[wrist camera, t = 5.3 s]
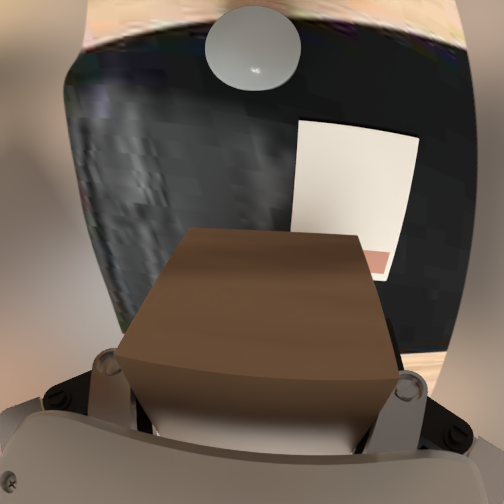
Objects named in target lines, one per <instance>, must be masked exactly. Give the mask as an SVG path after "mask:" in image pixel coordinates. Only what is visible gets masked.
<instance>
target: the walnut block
mask: <svg viewBox="0 0 504 504" xmlns="http://www.w3.org/2000/svg"><path fill="white" fill-rule="evenodd" d="M114 356H115V358H116V360H117V362H118V364H119V366H120V368H121V370H122V372H123V374H124V376H125V377H126V379H127V381H128V383H129V385H130V387H131V388H132V390H133V392H134V394H135V396H136V397H137V399H138V401H139V402H140V404H141V406H142V408H143V409H144V411H145V413H146V414H147V416H148V417H149V419H150V421H151V422H152V424H153V425H154V427H155V429H156V430H157V431H158V433H159V435H160V436H161V437H164V438H169V439H173V440H178V441H183V442H188V443H193V444H199V445H205V446H211V447H217V448H224V449H231V450H239V451H249V452H259V453H272V454H289V455H351V453H352V452H353V450H354V449H355V448H356V446H357V445H358V444H359V442H360V441H361V439H362V438H363V437H364V435H365V434H366V432H367V431H368V429H369V428H370V426H371V425H372V424H373V422H374V421H375V419H376V417H377V416H378V414H379V413H380V411H381V410H382V408H383V406H384V405H385V403H386V402H387V400H388V398H389V397H390V395H391V393H392V392H393V390H394V388H395V387H396V385H397V383H398V381H399V380H400V375H399V371H398V367H397V362H396V358H395V354H394V350H393V346H392V343H391V339H390V335H389V331H388V328H387V324H386V321H385V317H384V314H383V310H382V307H381V304H380V300H379V297H378V294H377V291H376V288H375V284H374V281H373V278H372V275H371V272H370V269H369V266H368V263H367V260H366V257H365V255H364V252H363V249H362V246H361V243H360V241H359V238H358V235H344V234H326V233H307V232H287V231H265V230H241V229H214V228H189V230H188V231H187V233H186V234H185V236H184V237H183V239H182V240H181V242H180V243H179V245H178V247H177V248H176V250H175V251H174V253H173V254H172V256H171V258H170V259H169V261H168V262H167V264H166V266H165V267H164V269H163V270H162V272H161V274H160V275H159V277H158V279H157V280H156V282H155V284H154V285H153V287H152V289H151V290H150V292H149V294H148V295H147V297H146V299H145V300H144V302H143V304H142V305H141V307H140V309H139V310H138V312H137V314H136V316H135V317H134V319H133V321H132V323H131V324H130V326H129V328H128V330H127V331H126V333H125V335H124V337H123V339H122V340H121V342H120V344H119V346H118V348H117V349H116V351H115V353H114Z"/></svg>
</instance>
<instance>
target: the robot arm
mask: <svg viewBox="0 0 504 504" xmlns="http://www.w3.org/2000/svg"><path fill="white" fill-rule="evenodd" d="M384 317H385V321H386V324H387V328H388V331H389V335H390V339H391V343H392V346H393V350H394V354H395V358H396V362H397V367H398V371H399V375H400V380H399V381H398V383H397V385H396V387H395V388H394V390H393V392H392V393H391V395H390V397H389V398H388V400H387V402H386V403H385V405H384V406H383V408H382V410H381V411H380V413H379V414H378V416H377V417H376V419H375V421H374V422H373V424H372V425H371V426H370V428H369V429H368V431H367V432H366V434H365V435H364V437H363V438H362V439H361V441H360V442H359V444H358V445H357V446H356V448H355V449H354V450H353V452H352V454H351V455H289V454H272V453H259V452H249V451H239V450H231V449H224V448H217V447H211V446H205V445H199V444H193V443H188V442H183V441H178V440H173V439H169V438H164V437H160V436H157V432H156V429H155V427H154V425H153V424H152V422H151V421H150V419H149V417H148V416H147V414H146V413H145V411H144V409H143V408H142V406H141V404H140V402H139V401H138V399H137V397H136V396H135V394H134V392H133V390H132V388H131V387H130V385H129V383H128V381H127V379H126V377H125V376H124V374H123V372H122V370H121V368H120V366H119V364H118V362H117V360H116V358H115V356H114V353H115V351H116V349H117V348H110V349H106V350H104V351H102V352H101V353H100V354H99V355H97V357H96V358H95V360H94V362H93V366H92V370H90V371H88V372H86V373H83V374H81V375H79V376H76V377H74V378H72V379H69V380H67V381H64V382H62V383H60V384H57V385H55V386H53V387H51V388H50V389H49V390H48V391H47V392H46V394H45V395H44V398H43V399H41V398H40V397H37V398H34V399H31V400H29V401H26V402H24V403H21V404H18V405H15V406H13V407H10V408H7V409H5V410H4V411H2V413H1V414H0V444H1V449H2V455H1V457H0V504H502V502H503V500H504V451H502V450H501V449H499V448H497V447H496V446H494V445H493V444H491V443H489V442H488V441H486V440H485V439H483V438H482V437H480V436H478V437H477V438H476V437H474V436H473V431H472V429H471V427H470V425H469V424H468V423H467V422H465V421H464V420H462V419H461V418H459V417H458V416H456V415H455V414H453V413H452V412H450V411H449V410H447V409H446V408H444V407H443V406H441V405H440V404H438V403H437V402H435V401H434V400H432V399H431V398H430V397H428V396H427V393H428V388H427V384H426V382H425V380H424V379H423V378H422V377H421V376H420V375H419V374H417V373H415V372H413V371H408V370H404V367H403V363H402V360H401V356H400V352H399V348H398V345H397V341H396V338H395V334H394V331H393V327H392V324H391V321H390V318H389V317H388V316H384Z"/></svg>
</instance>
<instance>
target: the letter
mask: <svg viewBox="0 0 504 504" xmlns="http://www.w3.org/2000/svg"><path fill="white" fill-rule="evenodd" d="M418 142H419V138H416V137H411V136H406V135H401V134H396V133H391V132H386V131H380V130H374V129H368V128H361V127H355V126H347V125H340V124H332V123H323V122H313V121H302V120H299V127H298V143H297V157H296V171H295V184H294V197H293V209H292V220H291V231H290V232H307V233H326V234H344V235H358V238H359V241H360V243H361V246H362V249H363V252H364V255H365V257H366V260H367V263H368V266H369V269H370V272H371V275H372V278H373V280H381V281H386V280H387V277H388V274H389V270H390V267H391V264H392V260H393V257H394V253H395V250H396V246H397V242H398V239H399V235H400V231H401V227H402V223H403V219H404V215H405V211H406V206H407V202H408V197H409V192H410V188H411V183H412V177H413V172H414V167H415V161H416V155H417V149H418Z"/></svg>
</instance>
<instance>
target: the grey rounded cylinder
mask: <svg viewBox="0 0 504 504" xmlns="http://www.w3.org/2000/svg"><path fill="white" fill-rule="evenodd" d="M300 52H301V43H300V37H299V35H298V32H297V30H296V28H295V26H294V25H293V24H292V22H291V21H290V20H289V19H288V18H287V17H285V16H284V15H283V14H281V13H280V12H278V11H276V10H273V9H271V8H267V7H263V6H244V7H240V8H237V9H234V10H232V11H229V12H228V13H226V14H224V15H223V16H222V17H220V18H219V19H218V20H217V21H216V22H215V24H214V25H213V26H212V28H211V29H210V31H209V33H208V36H207V39H206V44H205V54H206V59H207V62H208V64H209V66H210V68H211V70H212V71H213V73H214V74H215V75H216V76H217V77H218V78H219V79H220V80H222V81H223V82H225V83H226V84H228V85H230V86H232V87H235V88H238V89H243V90H269V89H274V88H276V87H279V86H281V85H283V84H284V83H286V82H287V81H288V80H289V79H290V78H291V77H292V76H293V74H294V72H295V71H296V68H297V65H298V61H299V57H300Z"/></svg>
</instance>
